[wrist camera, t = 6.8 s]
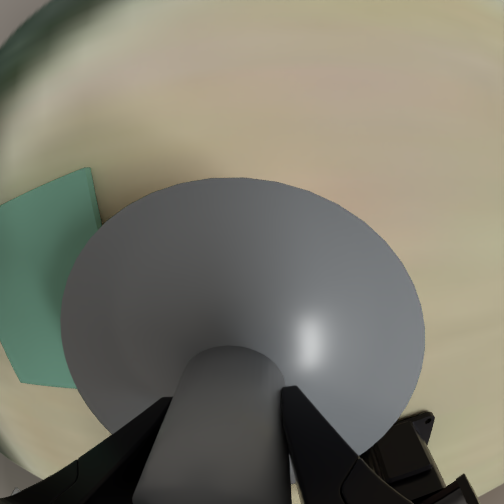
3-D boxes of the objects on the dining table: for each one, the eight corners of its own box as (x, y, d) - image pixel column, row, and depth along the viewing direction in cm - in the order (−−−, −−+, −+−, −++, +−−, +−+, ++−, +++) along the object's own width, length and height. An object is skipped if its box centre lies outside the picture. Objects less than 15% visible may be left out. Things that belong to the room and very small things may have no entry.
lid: (401, 446, 10) (437, 541, 5) (144, 471, 11) (112, 557, 6) (401, 146, 7) (551, 124, 2) (33, 229, 8) (-91, 273, 3)
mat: (155, 385, 15) (153, 390, 15) (24, 379, 16) (20, 382, 16) (90, 167, 13) (84, 167, 12) (-31, 224, 14) (-36, 225, 13)
